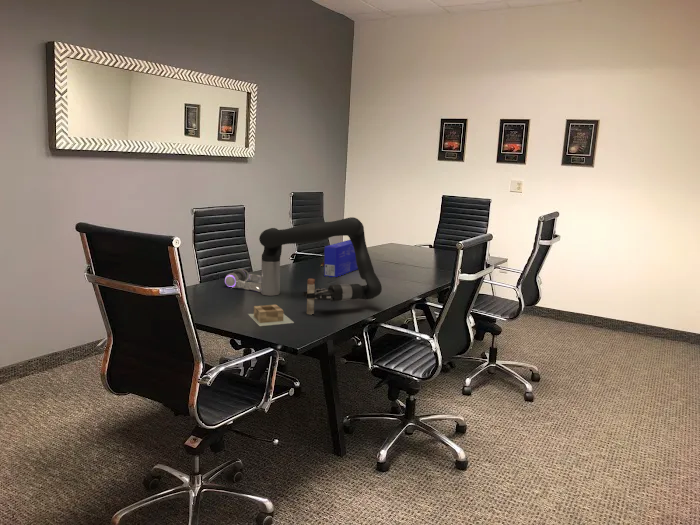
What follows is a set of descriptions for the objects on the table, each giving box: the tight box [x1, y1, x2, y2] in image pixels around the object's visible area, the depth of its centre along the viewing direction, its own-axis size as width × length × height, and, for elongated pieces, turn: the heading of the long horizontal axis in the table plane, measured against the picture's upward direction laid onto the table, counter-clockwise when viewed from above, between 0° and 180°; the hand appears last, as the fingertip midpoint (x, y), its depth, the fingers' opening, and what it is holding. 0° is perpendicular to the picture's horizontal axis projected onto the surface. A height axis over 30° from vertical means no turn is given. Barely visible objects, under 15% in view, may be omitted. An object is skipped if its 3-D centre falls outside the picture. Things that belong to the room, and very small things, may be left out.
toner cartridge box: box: [323, 239, 358, 278], centre depth 336 cm, size 39×8×18 cm, turn 153°
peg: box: [306, 278, 316, 316], centre depth 243 cm, size 3×3×16 cm
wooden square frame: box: [253, 304, 285, 323], centre depth 233 cm, size 10×10×4 cm
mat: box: [247, 313, 295, 327], centre depth 234 cm, size 18×15×1 cm
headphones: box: [224, 268, 261, 293], centre depth 290 cm, size 22×8×22 cm
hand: (304, 295), depth 241 cm, fingers closed on peg, 3 cm apart
